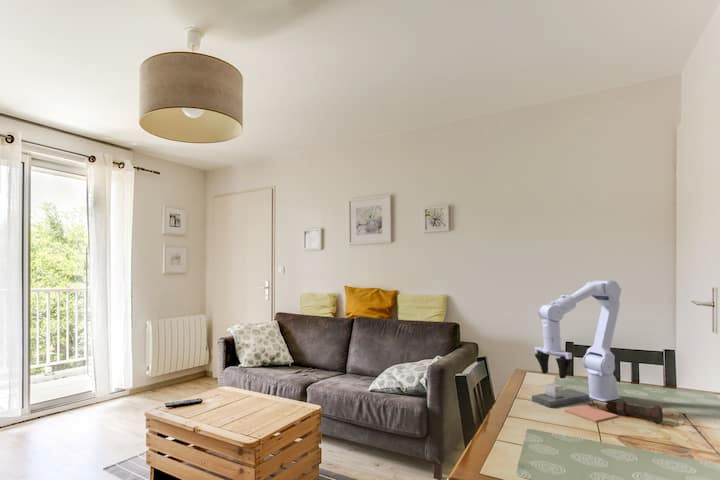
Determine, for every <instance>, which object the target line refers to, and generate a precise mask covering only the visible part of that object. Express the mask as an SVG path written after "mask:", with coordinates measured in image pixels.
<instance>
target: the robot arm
mask: <svg viewBox="0 0 720 480" xmlns="http://www.w3.org/2000/svg"><path fill="white" fill-rule="evenodd" d="M621 293H622V288H621V287H620V285H619V283H618V282H617V281H615V280H612V279H611V280H598V279H597V280H596V279H592V280H590V281H589V282H586V283H585V285H584V286H582V287H581V288H579V289H578V290H576V291H575V292H573V293H572V294H570V295H569V294H561V295H559V298H557V299H556V300H554V301H553V300H552V301H550V302H549V304H543V305H542V306H541V307H540V308H539V311H538V312H537V313H538V314H537V315H538V317H539V318H540V319H541V324H542V340H543V346H534V357H535V358H536V360H537V362H538V363H539V367H540V369H541V373H542V374H548V373H549V359H550V356H554V357H556V358H555V360H556V363H557V367H558V375H559V379H566V377H567V374H568V373H567V372H568V369H569V367H570V364H571V363H572V361H573V359H572V358H573V355H572V354H573V353H572V352H568V351H566V350H562V345H561V344H562V343H561V341H562V339H561V328H560V327H561V326H560V321H561V320H562V319H563V316H565V315H566V314H567V313H570V312H571V311H573V310H574V309H575V308H576V307H577V304H578V303H580V302H581V301H584V300H586V299H588V298H590V297H593V299H594V300H596V301H597V302H598V303H599V304H600V306H601V309H600V314H599V317H598V322H597V327H596V331H595V337H594V340H593V344H592V345H591V346H590V347H589V348H587V349H586V353H584V354H585V355H583V357H582V365H583V367H584V368H585V369H586V372H587V378H588V379H587V380H588V394H589V399H593V400H596V401H599V402H604V403H606V402H608V401H616V400H619V399H620V400H621V397H620V396H618V381H617V378H616V377H615V375H614V374H613V373H615V370H616V364H615V358H616V357H615V355H614V353H613V352H612V351H611V347H612V341H613V337H614V332H615V328H616V323H617V319H618V314H619V309H620V303H621V302H620V296H621Z"/></svg>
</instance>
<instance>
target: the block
mask: <svg viewBox="0 0 720 480" xmlns="http://www.w3.org/2000/svg"><path fill="white" fill-rule="evenodd" d="M590 399H591V398H589V393H585V392H582V391H579V390H575V389H572V388H568V389H563V398H558V399H554V398H551V397H548V396H546V392H545V393H537V394H534V395H531V401H532V402H534V403H536V404H539V405H541V406H544V407H547V408H549V409H550V408H551V409H553V408H557V407H561V406H566V405H573V404H576V403H582V402H586V401H590Z"/></svg>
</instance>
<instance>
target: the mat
mask: <svg viewBox="0 0 720 480" xmlns="http://www.w3.org/2000/svg"><path fill="white" fill-rule="evenodd" d="M564 412H566V413H568V414H571V415H574V416H576V417H577V416H578V417H580V418H582V419H585V420H588V421H591V422H594V423H597V422H598V423H599V422H602V421H607V420H610V419H615V418H618V417H619V414H615V413H612V412H609V411H606V410H603V409H601V408H596V407H593V406H590V405H587V404H586V405H581V406H577V407H572V408H571V407H570V408H566V409H564Z"/></svg>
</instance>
